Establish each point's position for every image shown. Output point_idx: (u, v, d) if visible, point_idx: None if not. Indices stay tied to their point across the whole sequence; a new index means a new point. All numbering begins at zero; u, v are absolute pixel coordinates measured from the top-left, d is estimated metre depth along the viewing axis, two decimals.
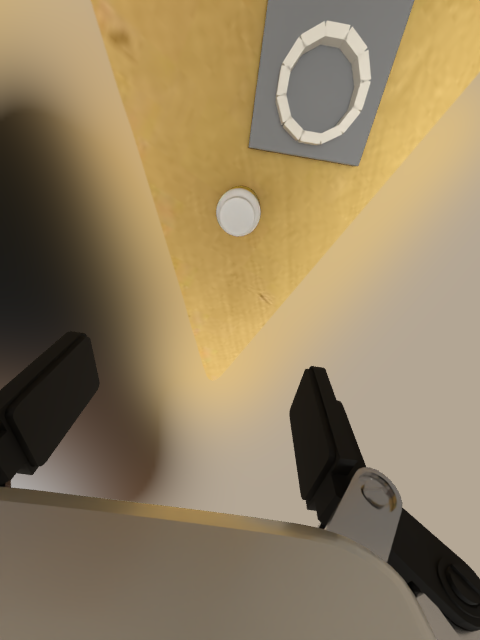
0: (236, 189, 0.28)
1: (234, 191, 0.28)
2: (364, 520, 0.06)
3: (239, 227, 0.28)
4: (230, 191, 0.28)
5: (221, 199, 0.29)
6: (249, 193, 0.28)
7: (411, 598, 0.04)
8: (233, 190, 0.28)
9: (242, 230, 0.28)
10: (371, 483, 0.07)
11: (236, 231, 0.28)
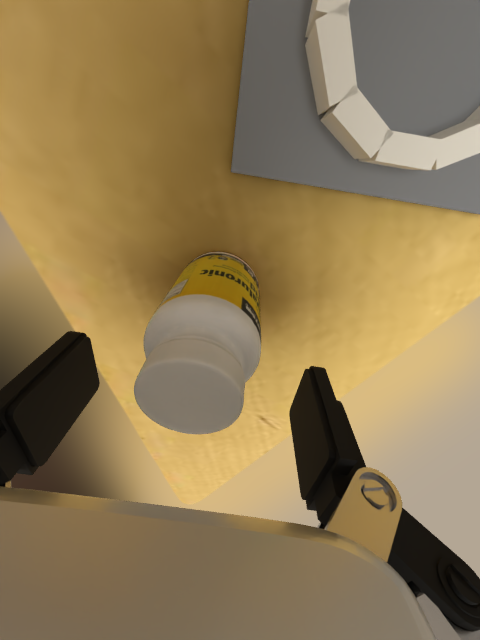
0: (191, 303, 0.10)
1: (185, 310, 0.10)
2: (364, 520, 0.06)
3: (198, 421, 0.09)
4: (174, 308, 0.10)
5: (151, 326, 0.10)
6: (229, 314, 0.10)
7: (411, 598, 0.04)
8: (182, 306, 0.10)
9: (208, 426, 0.10)
10: (371, 483, 0.07)
11: (191, 427, 0.10)
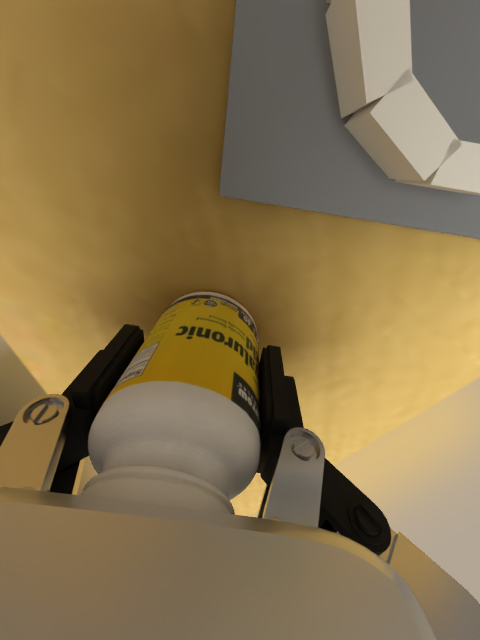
0: (153, 401, 0.06)
1: (143, 412, 0.06)
2: (286, 467, 0.07)
3: None
4: (127, 408, 0.06)
5: (95, 429, 0.07)
6: (211, 417, 0.06)
7: (411, 598, 0.04)
8: (139, 406, 0.06)
9: None
10: (299, 440, 0.07)
11: None
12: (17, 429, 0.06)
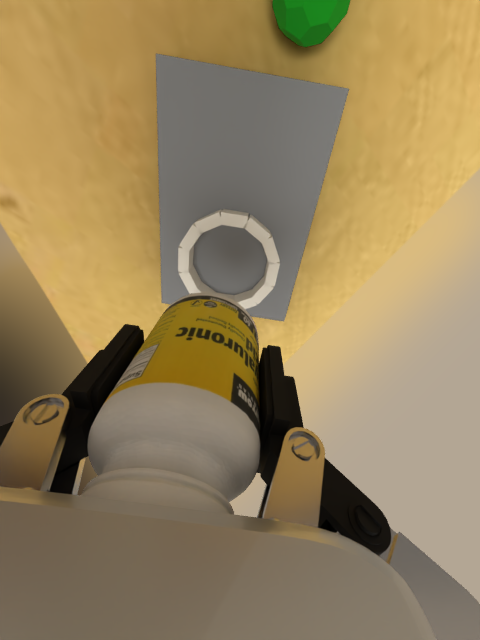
0: (152, 402, 0.06)
1: (142, 414, 0.06)
2: (286, 467, 0.07)
3: None
4: (126, 410, 0.06)
5: (95, 430, 0.07)
6: (211, 418, 0.06)
7: (411, 598, 0.04)
8: (138, 408, 0.06)
9: None
10: (299, 440, 0.07)
11: None
12: (17, 429, 0.06)
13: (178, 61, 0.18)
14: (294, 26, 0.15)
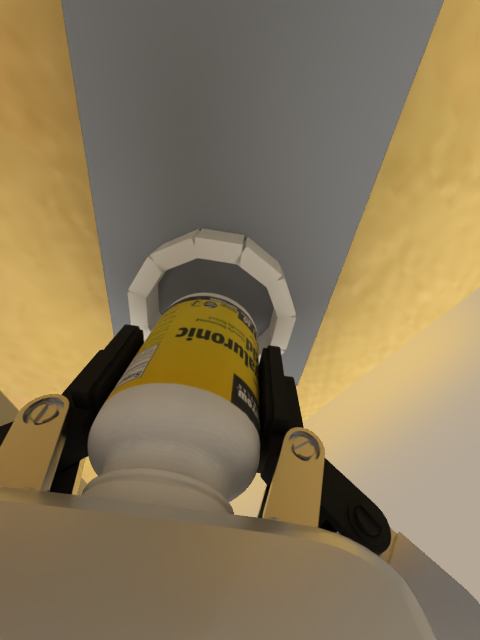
0: (152, 403, 0.06)
1: (142, 415, 0.06)
2: (286, 467, 0.07)
3: None
4: (126, 410, 0.06)
5: (95, 431, 0.07)
6: (210, 419, 0.06)
7: (411, 598, 0.04)
8: (138, 409, 0.06)
9: None
10: (299, 440, 0.07)
11: None
12: (17, 429, 0.06)
13: None
14: None
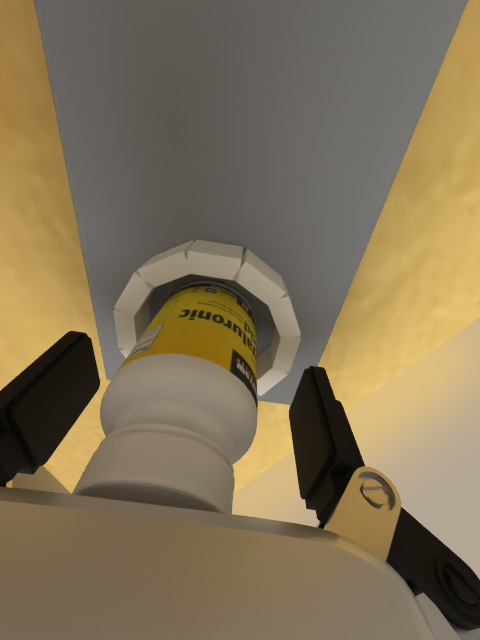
0: (160, 369, 0.07)
1: (151, 380, 0.07)
2: (363, 519, 0.06)
3: None
4: (136, 376, 0.07)
5: (107, 397, 0.08)
6: (212, 384, 0.07)
7: (411, 598, 0.04)
8: (147, 374, 0.07)
9: None
10: (370, 482, 0.07)
11: None
12: None
13: None
14: None
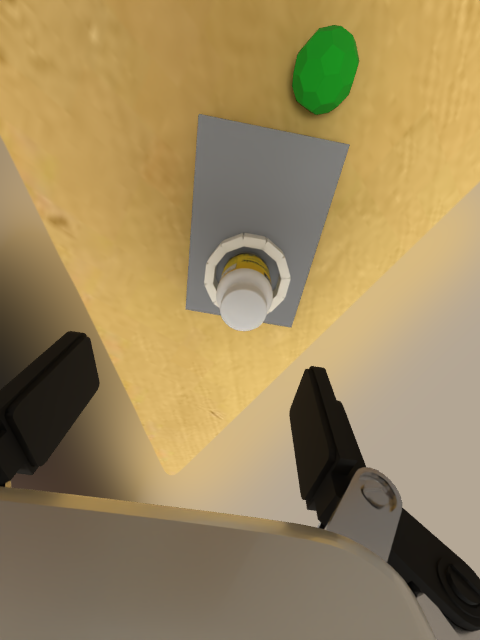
0: (243, 271, 0.22)
1: (240, 274, 0.22)
2: (364, 520, 0.06)
3: (246, 322, 0.21)
4: (235, 273, 0.22)
5: (223, 282, 0.22)
6: (259, 276, 0.22)
7: (411, 598, 0.04)
8: (239, 272, 0.22)
9: (250, 325, 0.21)
10: (371, 483, 0.07)
11: (242, 326, 0.21)
12: None
13: (216, 120, 0.22)
14: (309, 102, 0.20)
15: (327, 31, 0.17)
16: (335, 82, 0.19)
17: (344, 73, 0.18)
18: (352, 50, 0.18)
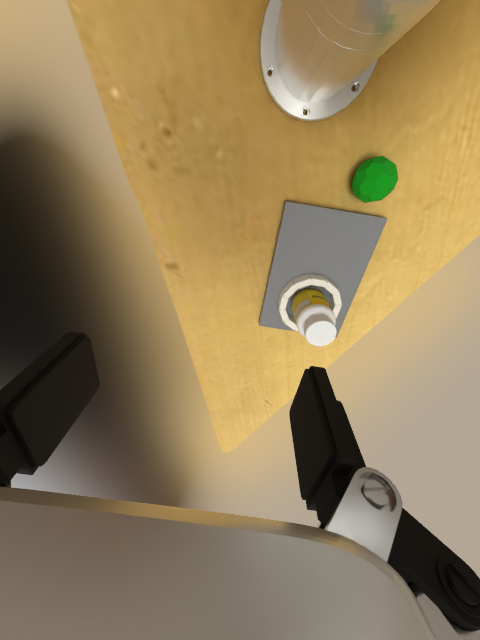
0: (318, 306, 0.33)
1: (316, 308, 0.33)
2: (364, 520, 0.06)
3: (321, 340, 0.33)
4: (312, 308, 0.33)
5: (304, 313, 0.34)
6: (328, 310, 0.33)
7: (411, 598, 0.04)
8: (315, 307, 0.33)
9: (323, 342, 0.33)
10: (371, 483, 0.07)
11: (318, 343, 0.33)
12: None
13: (297, 205, 0.33)
14: (363, 198, 0.31)
15: (379, 163, 0.28)
16: (383, 191, 0.29)
17: (389, 186, 0.29)
18: (395, 174, 0.29)
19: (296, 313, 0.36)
